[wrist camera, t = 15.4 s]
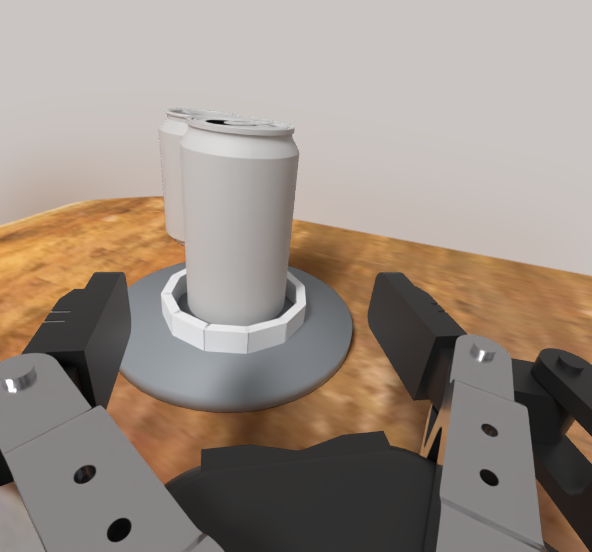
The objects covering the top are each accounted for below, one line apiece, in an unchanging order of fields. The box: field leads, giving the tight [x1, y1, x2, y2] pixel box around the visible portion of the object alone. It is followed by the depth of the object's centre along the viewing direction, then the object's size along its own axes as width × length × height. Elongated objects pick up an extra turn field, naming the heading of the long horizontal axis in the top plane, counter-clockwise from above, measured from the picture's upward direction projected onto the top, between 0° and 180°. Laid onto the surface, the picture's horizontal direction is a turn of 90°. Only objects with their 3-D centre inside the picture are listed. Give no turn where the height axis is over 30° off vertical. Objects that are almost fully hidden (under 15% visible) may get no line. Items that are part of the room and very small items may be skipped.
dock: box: [119, 262, 352, 413], centre depth 25 cm, size 16×16×2 cm
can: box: [159, 109, 236, 246], centre depth 35 cm, size 8×8×12 cm
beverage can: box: [180, 115, 299, 326], centre depth 22 cm, size 6×6×12 cm
